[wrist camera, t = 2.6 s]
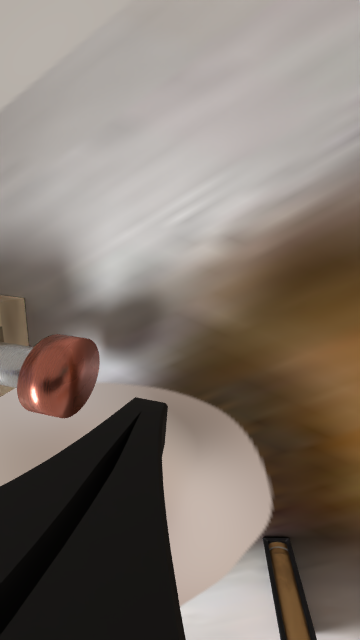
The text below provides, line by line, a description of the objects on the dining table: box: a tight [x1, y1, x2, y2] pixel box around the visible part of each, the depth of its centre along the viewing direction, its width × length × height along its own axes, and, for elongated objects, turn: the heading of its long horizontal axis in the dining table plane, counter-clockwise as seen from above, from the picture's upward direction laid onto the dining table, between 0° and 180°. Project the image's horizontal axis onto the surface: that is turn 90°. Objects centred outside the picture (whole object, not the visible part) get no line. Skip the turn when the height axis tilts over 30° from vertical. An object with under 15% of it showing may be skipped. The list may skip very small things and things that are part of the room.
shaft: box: [0, 334, 99, 418], centre depth 12 cm, size 8×4×4 cm, turn 85°
